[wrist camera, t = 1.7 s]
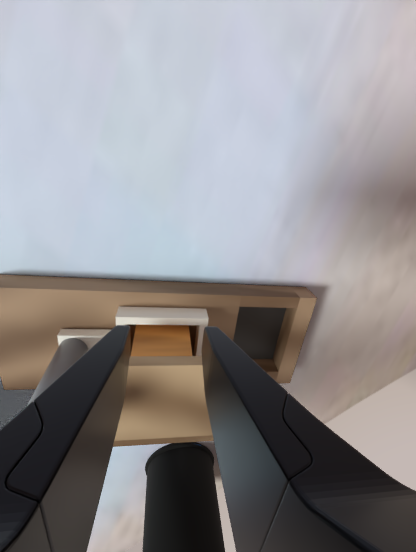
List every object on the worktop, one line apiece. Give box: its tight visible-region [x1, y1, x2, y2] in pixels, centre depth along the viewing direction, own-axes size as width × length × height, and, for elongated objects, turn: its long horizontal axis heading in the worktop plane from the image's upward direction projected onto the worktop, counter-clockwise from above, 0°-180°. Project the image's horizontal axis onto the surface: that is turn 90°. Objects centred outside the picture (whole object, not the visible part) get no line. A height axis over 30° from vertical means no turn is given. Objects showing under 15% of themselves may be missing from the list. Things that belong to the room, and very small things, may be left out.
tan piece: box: [0, 275, 317, 447], centre depth 21 cm, size 10×25×8 cm, turn 83°
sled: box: [27, 306, 209, 405], centre depth 17 cm, size 7×11×10 cm, turn 83°
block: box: [131, 324, 192, 356], centre depth 20 cm, size 4×4×4 cm
